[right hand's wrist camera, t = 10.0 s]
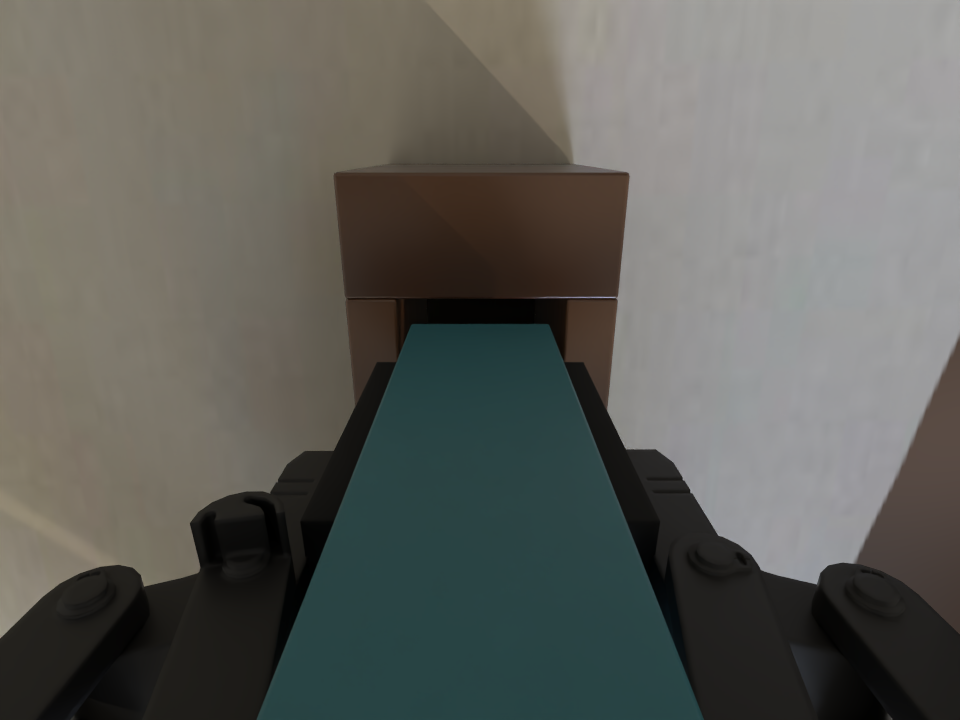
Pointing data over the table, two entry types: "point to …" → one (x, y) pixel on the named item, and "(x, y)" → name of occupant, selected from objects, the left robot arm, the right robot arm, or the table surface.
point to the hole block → (482, 252)
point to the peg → (480, 557)
